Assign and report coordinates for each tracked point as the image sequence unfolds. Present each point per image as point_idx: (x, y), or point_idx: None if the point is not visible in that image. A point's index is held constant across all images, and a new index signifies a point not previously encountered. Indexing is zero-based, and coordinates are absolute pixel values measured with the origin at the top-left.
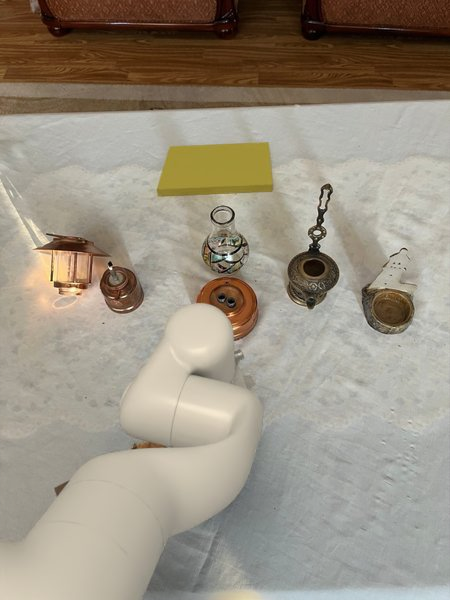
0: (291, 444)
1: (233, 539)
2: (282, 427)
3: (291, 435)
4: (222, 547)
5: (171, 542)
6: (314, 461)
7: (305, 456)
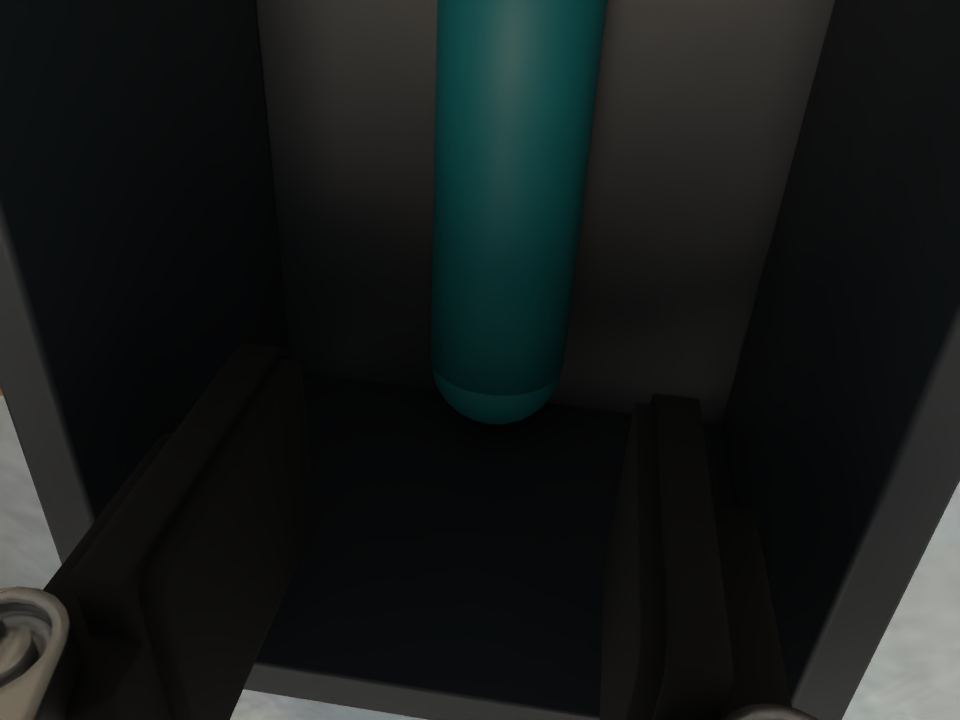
0: (903, 601)
1: (322, 705)
2: (955, 507)
3: (955, 569)
4: (263, 699)
5: (38, 581)
6: (926, 712)
7: (909, 676)
